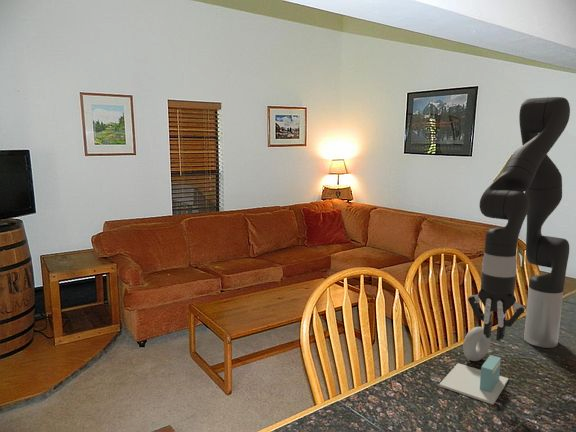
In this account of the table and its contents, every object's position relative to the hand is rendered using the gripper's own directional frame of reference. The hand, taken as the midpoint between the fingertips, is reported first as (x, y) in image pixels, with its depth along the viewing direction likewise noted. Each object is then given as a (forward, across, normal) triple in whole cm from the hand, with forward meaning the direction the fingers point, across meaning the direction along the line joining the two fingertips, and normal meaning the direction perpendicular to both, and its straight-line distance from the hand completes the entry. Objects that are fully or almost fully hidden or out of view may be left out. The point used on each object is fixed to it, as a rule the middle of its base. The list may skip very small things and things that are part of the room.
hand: (493, 338), depth 113 cm
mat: (+13, +4, +1) cm, 14 cm away
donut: (+13, +7, -12) cm, 19 cm away
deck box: (+12, 0, 0) cm, 12 cm away
